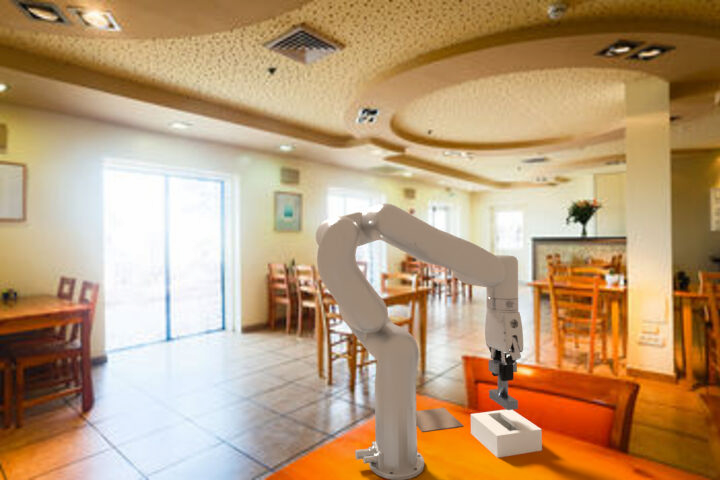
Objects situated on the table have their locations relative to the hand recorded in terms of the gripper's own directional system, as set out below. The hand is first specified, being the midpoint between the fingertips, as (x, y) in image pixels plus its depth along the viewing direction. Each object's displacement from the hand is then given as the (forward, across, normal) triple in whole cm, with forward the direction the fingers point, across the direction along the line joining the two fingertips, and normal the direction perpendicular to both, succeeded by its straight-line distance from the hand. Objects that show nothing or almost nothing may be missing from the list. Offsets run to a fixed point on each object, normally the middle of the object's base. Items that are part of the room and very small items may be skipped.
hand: (502, 377), depth 98 cm
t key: (+7, 0, 0) cm, 7 cm away
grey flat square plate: (+17, +16, +11) cm, 26 cm away
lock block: (+17, 0, -1) cm, 17 cm away
